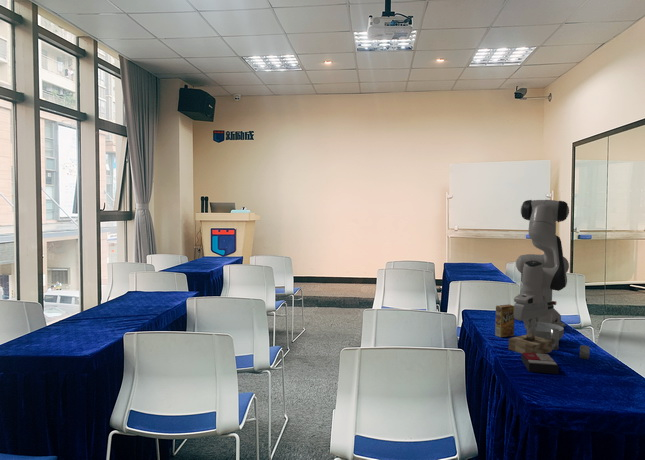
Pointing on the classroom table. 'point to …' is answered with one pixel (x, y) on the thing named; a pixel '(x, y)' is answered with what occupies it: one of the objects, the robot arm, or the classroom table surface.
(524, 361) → the calculator
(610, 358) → the classroom table surface
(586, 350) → the short pin
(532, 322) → the long pin
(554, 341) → the medium pin
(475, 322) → the classroom table surface
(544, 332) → the cereal bowl
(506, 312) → the candy box
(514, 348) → the block
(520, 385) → the classroom table surface
